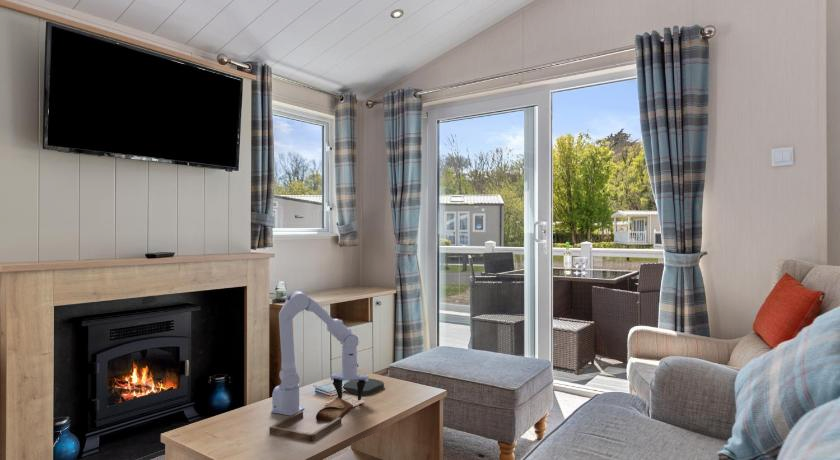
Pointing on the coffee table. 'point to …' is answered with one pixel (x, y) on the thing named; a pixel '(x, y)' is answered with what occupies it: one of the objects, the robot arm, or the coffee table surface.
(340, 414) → the sunglasses case
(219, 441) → the coffee table surface
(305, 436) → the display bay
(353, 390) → the media streaming box
